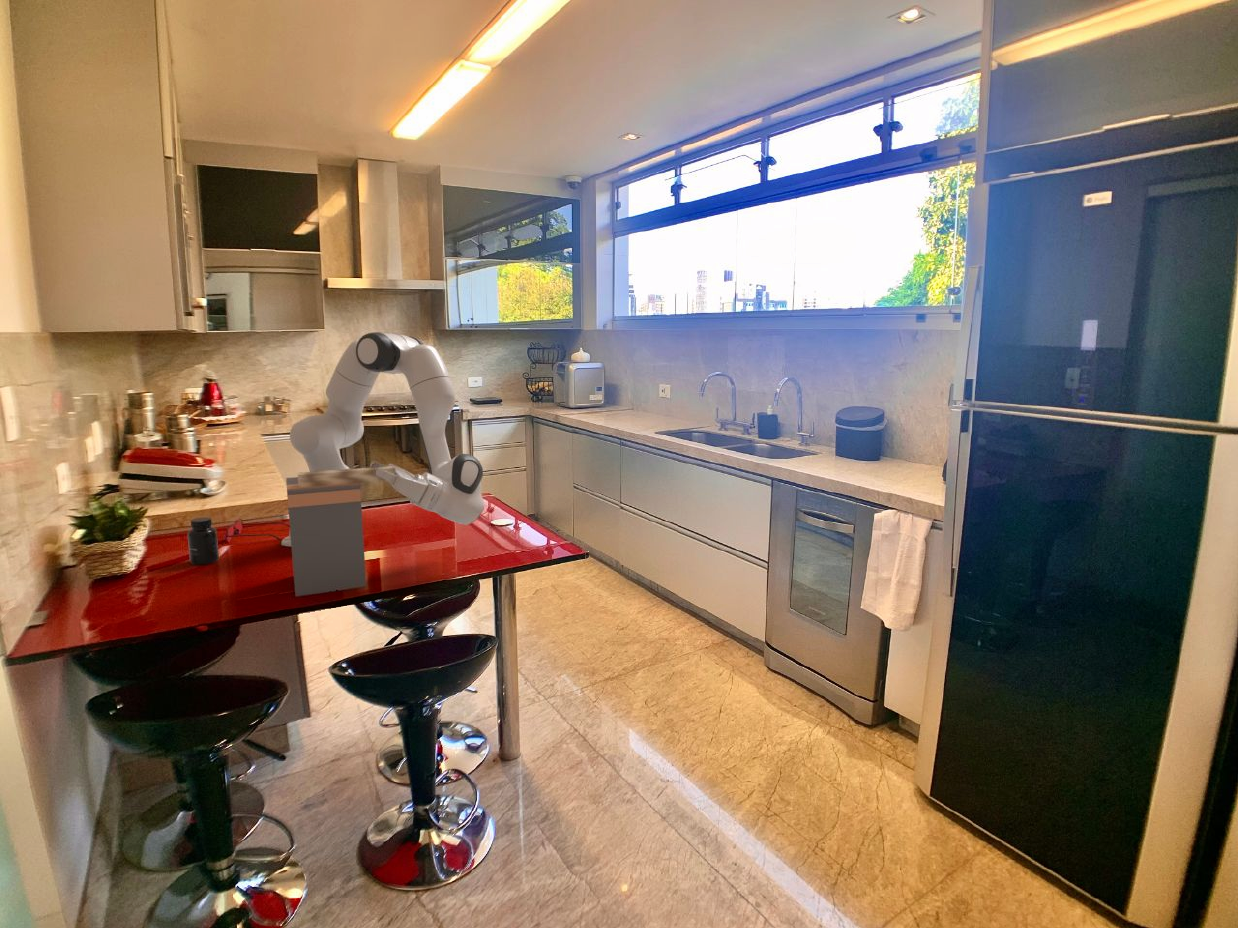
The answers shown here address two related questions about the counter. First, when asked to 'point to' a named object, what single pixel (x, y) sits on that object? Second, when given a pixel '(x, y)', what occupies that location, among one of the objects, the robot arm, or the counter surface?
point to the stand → (326, 537)
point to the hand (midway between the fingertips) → (373, 467)
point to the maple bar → (341, 476)
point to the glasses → (239, 527)
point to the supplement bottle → (202, 542)
